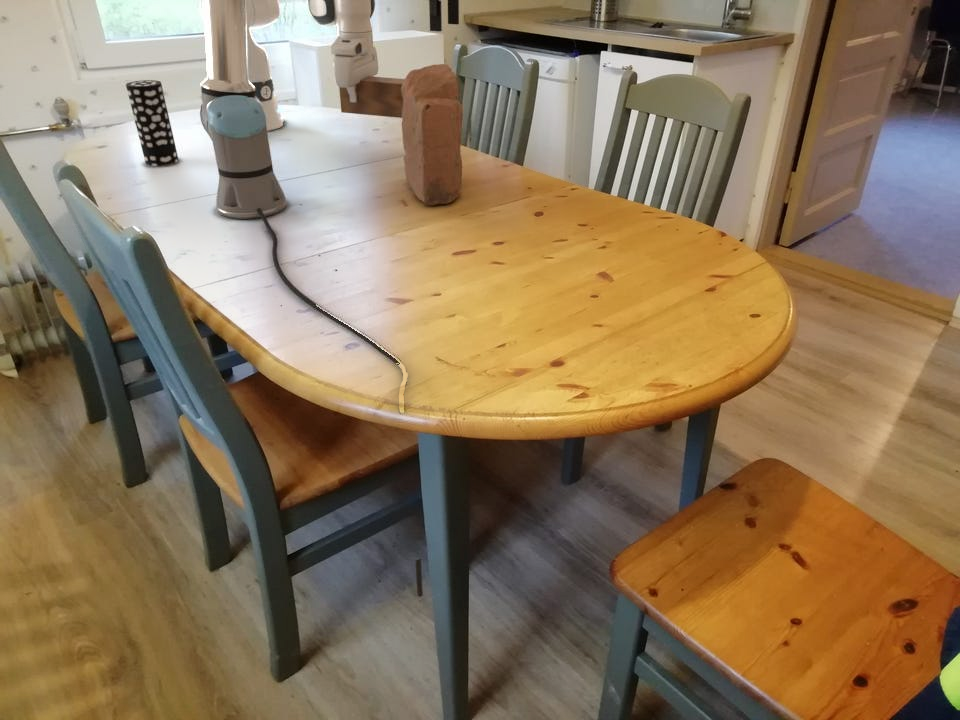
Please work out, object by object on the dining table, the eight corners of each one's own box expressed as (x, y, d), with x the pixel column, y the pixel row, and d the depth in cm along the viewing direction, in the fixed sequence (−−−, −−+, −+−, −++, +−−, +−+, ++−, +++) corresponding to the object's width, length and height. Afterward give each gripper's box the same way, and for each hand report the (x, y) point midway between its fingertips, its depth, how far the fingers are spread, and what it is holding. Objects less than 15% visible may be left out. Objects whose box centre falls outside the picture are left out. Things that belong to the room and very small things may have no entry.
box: (433, 114, 185) (432, 81, 180) (425, 120, 180) (425, 85, 175) (350, 107, 190) (348, 74, 185) (341, 112, 185) (338, 78, 180)
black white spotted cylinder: (184, 157, 190) (167, 80, 179) (169, 166, 183) (151, 87, 172) (155, 156, 190) (136, 79, 179) (139, 165, 183) (119, 86, 172)
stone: (471, 203, 161) (470, 74, 147) (425, 208, 158) (419, 77, 144) (446, 179, 178) (443, 61, 164) (404, 183, 175) (396, 64, 161)
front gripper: (445, -75, 170) (446, 20, 181) (408, -74, 149) (412, 33, 161) (474, -75, 168) (473, 22, 179) (441, -74, 148) (443, 34, 159)
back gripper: (360, 36, 186) (364, 90, 194) (327, 48, 170) (332, 106, 177) (382, 37, 185) (385, 91, 193) (351, 49, 169) (355, 108, 176)
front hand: (444, 27), depth 170 cm, fingers open, 13 cm apart
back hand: (359, 98), depth 185 cm, fingers closed on box, 6 cm apart
